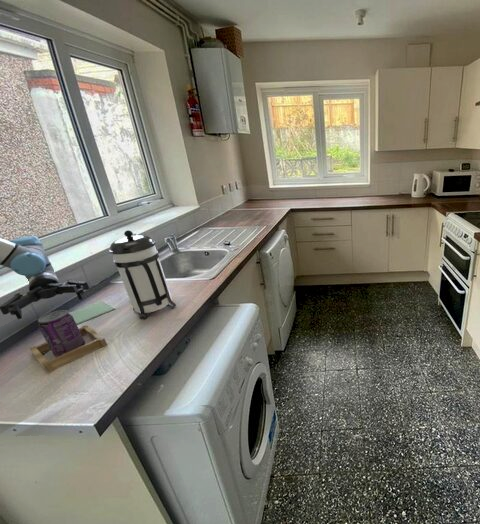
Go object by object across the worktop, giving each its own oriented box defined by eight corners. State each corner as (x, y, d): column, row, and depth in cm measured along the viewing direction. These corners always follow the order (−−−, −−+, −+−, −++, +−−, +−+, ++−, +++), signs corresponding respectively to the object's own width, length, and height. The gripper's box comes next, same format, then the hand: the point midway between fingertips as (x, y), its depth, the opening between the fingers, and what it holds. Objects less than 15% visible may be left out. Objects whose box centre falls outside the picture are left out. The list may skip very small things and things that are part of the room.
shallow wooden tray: (33, 355, 84) (29, 348, 83) (89, 330, 94) (86, 324, 93) (47, 373, 77) (43, 366, 76) (107, 345, 87) (104, 338, 86)
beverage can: (60, 346, 87) (42, 313, 82) (89, 339, 90) (73, 306, 85) (49, 361, 81) (29, 325, 76) (81, 353, 84) (63, 318, 79)
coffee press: (117, 322, 98) (82, 239, 87) (149, 299, 113) (122, 225, 101) (166, 321, 97) (137, 237, 86) (192, 298, 112) (170, 223, 101)
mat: (62, 316, 104) (61, 315, 103) (102, 301, 113) (101, 300, 113) (73, 325, 97) (73, 325, 97) (114, 309, 107) (114, 308, 107)
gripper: (94, 282, 110) (105, 298, 97) (-3, 310, 93) (-5, 335, 80) (86, 264, 107) (96, 278, 94) (-16, 290, 90) (-20, 312, 77)
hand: (50, 304), depth 87 cm, fingers open, 13 cm apart
